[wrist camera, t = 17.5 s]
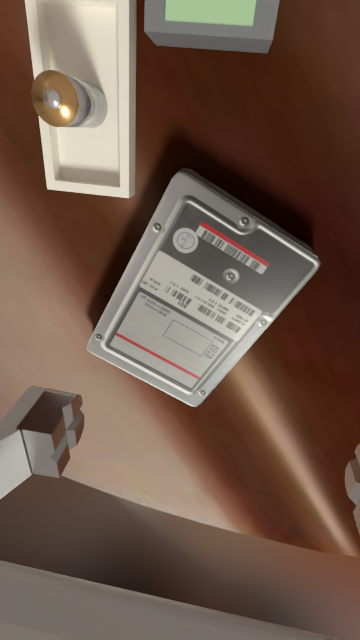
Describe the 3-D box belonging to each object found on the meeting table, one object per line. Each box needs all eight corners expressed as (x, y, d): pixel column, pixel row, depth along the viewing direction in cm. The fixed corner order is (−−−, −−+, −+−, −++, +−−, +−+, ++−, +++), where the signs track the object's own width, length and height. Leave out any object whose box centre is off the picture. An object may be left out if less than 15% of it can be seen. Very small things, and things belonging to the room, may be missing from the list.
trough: (136, -2, 30) (129, -13, 28) (134, 194, 38) (128, 198, 36) (37, -8, 31) (22, -19, 28) (57, 186, 39) (47, 189, 37)
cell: (107, 84, 33) (73, 72, 26) (107, 130, 35) (75, 129, 28) (69, 79, 33) (26, 66, 26) (71, 125, 35) (31, 123, 28)
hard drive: (95, 333, 50) (84, 349, 46) (183, 163, 36) (177, 167, 33) (198, 388, 52) (196, 409, 48) (315, 249, 39) (324, 261, 35)
